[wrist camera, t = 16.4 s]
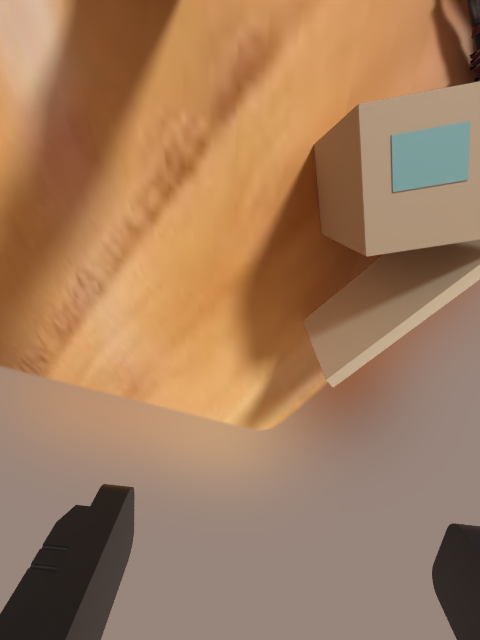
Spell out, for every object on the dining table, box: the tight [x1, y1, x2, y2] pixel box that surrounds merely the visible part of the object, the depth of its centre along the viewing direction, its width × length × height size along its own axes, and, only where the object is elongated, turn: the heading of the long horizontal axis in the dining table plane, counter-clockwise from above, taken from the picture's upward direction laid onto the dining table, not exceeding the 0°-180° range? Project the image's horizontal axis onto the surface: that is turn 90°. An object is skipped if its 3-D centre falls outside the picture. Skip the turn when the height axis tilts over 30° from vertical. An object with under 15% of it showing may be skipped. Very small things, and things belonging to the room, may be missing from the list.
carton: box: [314, 81, 480, 257], centre depth 33 cm, size 11×10×18 cm
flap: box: [302, 240, 480, 387], centre depth 37 cm, size 18×1×16 cm, turn 133°
